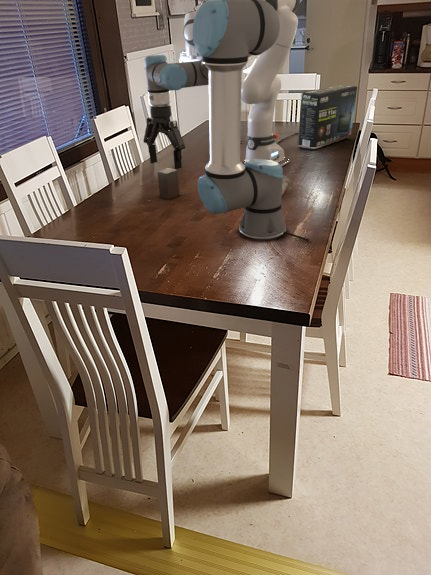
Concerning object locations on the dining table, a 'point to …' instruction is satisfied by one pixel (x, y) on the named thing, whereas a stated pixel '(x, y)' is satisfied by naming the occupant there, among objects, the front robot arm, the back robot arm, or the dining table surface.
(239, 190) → the front robot arm
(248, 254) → the dining table surface
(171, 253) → the dining table surface
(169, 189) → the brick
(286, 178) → the fossil
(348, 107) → the router box
